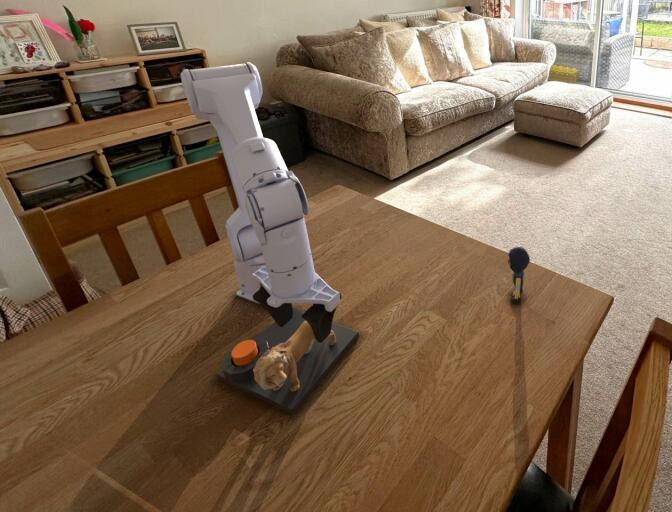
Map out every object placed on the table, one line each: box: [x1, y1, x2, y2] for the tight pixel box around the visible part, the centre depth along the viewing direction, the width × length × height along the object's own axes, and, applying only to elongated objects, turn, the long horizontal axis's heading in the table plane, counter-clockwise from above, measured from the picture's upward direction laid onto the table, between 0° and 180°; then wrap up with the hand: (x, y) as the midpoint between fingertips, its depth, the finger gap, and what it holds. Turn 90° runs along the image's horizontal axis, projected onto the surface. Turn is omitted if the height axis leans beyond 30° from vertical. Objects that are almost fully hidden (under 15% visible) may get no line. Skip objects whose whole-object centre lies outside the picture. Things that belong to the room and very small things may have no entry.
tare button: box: [231, 339, 258, 366], centre depth 62 cm, size 3×3×2 cm
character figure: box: [507, 246, 531, 304], centre depth 76 cm, size 9×4×12 cm, turn 178°
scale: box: [215, 306, 360, 415], centre depth 65 cm, size 15×14×3 cm
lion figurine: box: [253, 321, 336, 392], centre depth 61 cm, size 15×5×9 cm, turn 172°
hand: (304, 329), depth 62 cm, fingers open, 7 cm apart
